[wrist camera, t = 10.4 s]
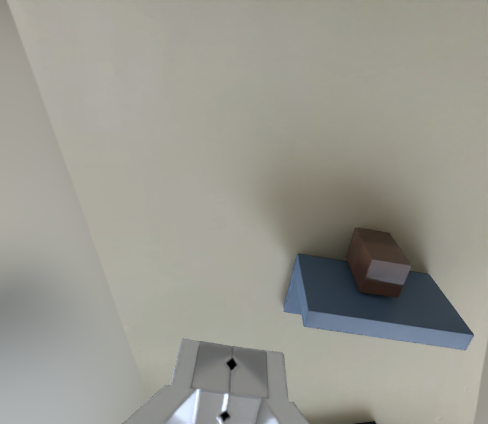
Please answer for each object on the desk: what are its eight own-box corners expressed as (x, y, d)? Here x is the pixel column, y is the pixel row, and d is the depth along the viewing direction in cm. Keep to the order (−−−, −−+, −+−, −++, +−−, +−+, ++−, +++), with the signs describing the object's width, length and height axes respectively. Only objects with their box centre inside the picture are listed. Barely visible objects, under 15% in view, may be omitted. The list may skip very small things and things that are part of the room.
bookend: (297, 253, 43) (308, 310, 34) (429, 273, 44) (474, 334, 35) (283, 306, 46) (290, 371, 37) (406, 325, 47) (441, 393, 38)
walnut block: (346, 234, 44) (372, 214, 37) (378, 239, 44) (411, 220, 37) (343, 296, 41) (371, 288, 34) (378, 302, 42) (412, 294, 35)
